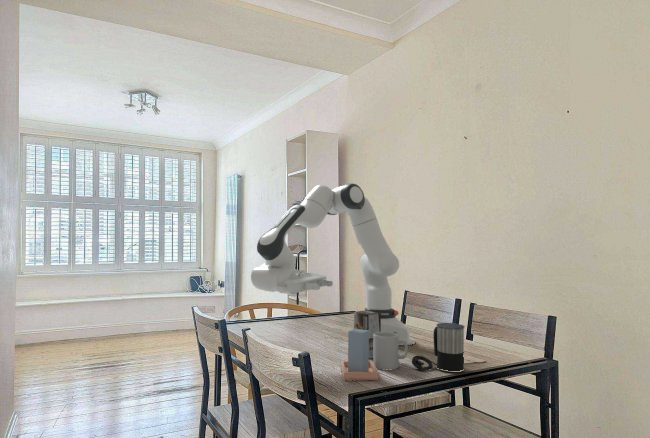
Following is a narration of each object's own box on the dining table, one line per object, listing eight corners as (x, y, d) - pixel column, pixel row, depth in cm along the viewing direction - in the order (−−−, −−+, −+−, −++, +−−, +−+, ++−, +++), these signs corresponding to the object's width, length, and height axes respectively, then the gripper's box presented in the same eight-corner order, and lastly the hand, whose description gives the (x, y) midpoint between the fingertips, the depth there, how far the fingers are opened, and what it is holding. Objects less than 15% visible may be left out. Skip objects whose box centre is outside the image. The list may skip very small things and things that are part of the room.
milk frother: (471, 371, 148) (470, 325, 149) (437, 378, 140) (437, 330, 140) (438, 361, 160) (438, 319, 161) (406, 367, 152) (406, 323, 152)
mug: (376, 370, 147) (376, 337, 148) (370, 363, 156) (370, 332, 156) (411, 370, 149) (411, 336, 149) (404, 363, 157) (404, 331, 158)
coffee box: (381, 356, 166) (381, 313, 167) (368, 359, 162) (368, 314, 163) (365, 351, 173) (365, 310, 174) (352, 353, 170) (353, 311, 171)
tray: (372, 368, 150) (372, 360, 150) (378, 380, 136) (378, 372, 136) (340, 368, 149) (340, 360, 150) (343, 380, 136) (343, 372, 136)
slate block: (354, 368, 146) (354, 328, 147) (368, 371, 144) (368, 330, 145) (348, 372, 142) (348, 331, 143) (362, 374, 139) (362, 332, 140)
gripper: (274, 275, 148) (310, 279, 142) (305, 270, 166) (338, 273, 160) (273, 294, 148) (309, 299, 142) (305, 287, 166) (338, 291, 160)
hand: (325, 285), depth 151 cm, fingers open, 8 cm apart
